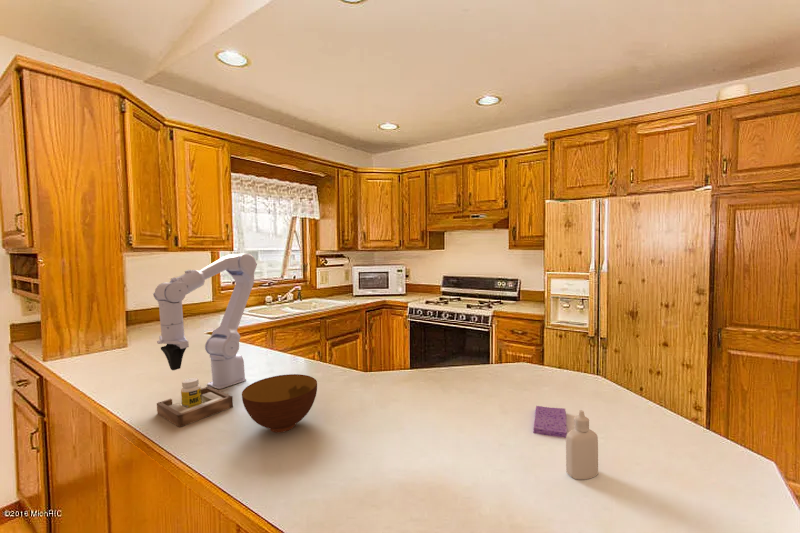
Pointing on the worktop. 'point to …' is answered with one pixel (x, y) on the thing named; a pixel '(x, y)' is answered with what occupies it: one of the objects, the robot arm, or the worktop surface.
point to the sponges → (550, 421)
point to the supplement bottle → (191, 393)
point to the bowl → (280, 400)
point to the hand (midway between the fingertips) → (175, 369)
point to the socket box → (195, 407)
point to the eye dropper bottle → (581, 449)
